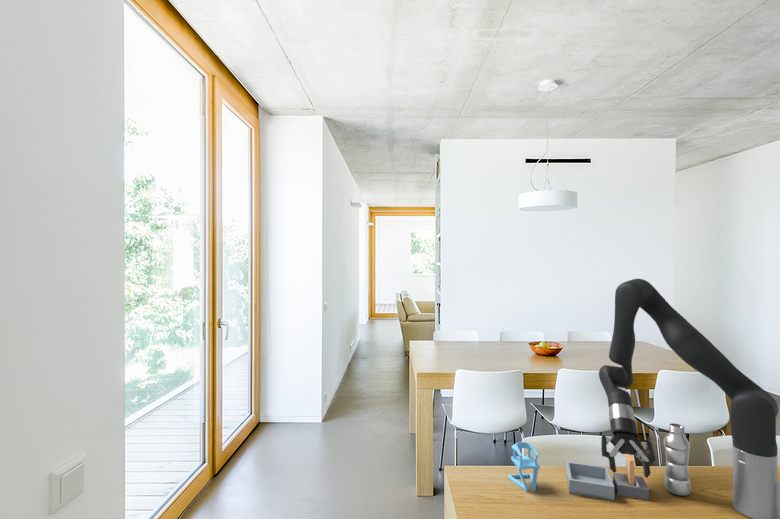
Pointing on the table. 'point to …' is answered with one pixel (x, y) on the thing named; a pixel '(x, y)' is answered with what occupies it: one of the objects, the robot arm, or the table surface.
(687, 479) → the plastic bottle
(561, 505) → the table surface
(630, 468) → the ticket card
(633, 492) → the ticket dispenser
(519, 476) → the chair
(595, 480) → the tray
